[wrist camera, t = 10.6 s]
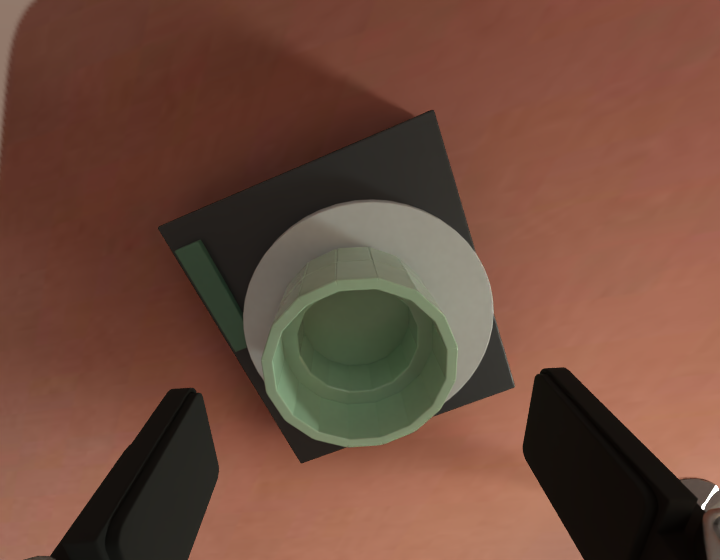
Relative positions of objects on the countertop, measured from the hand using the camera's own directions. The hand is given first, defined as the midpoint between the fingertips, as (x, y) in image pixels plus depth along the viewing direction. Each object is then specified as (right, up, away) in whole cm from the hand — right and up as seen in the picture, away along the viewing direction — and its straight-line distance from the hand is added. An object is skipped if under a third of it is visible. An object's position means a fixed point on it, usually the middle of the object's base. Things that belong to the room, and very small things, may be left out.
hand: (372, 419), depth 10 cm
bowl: (-1, +2, +7) cm, 7 cm away
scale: (-1, +3, +10) cm, 11 cm away
